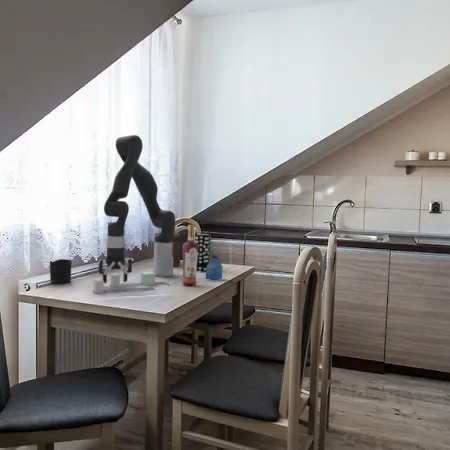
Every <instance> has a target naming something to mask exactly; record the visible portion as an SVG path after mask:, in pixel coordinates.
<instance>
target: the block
mask: <svg viewBox="0 0 450 450" xmlns="http://www.w3.org/2000/svg"><path fill="white" fill-rule="evenodd" d="M140 273H141V275H140V283H142V284H143V285H148V286H156V285H155V282H156V276H155V273H153V271H143V272H142V271H141V272H140Z"/></svg>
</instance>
